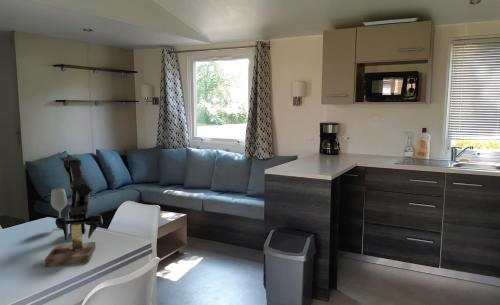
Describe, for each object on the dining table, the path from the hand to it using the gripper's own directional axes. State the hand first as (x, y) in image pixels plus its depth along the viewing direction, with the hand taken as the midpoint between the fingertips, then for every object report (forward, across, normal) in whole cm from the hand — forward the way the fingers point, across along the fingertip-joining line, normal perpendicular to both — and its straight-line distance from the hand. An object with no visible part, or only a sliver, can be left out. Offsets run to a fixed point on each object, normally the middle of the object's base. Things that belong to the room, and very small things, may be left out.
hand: (77, 238), depth 159 cm
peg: (+6, 0, +4) cm, 7 cm away
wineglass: (-25, -18, +36) cm, 47 cm away
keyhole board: (+6, -3, +4) cm, 8 cm away
